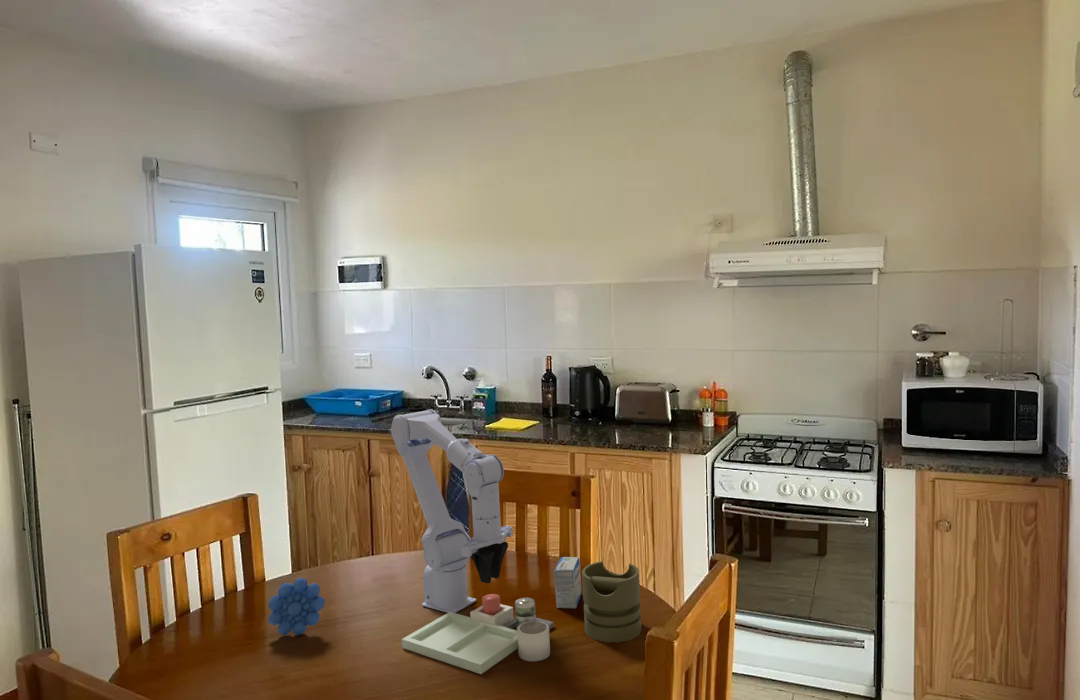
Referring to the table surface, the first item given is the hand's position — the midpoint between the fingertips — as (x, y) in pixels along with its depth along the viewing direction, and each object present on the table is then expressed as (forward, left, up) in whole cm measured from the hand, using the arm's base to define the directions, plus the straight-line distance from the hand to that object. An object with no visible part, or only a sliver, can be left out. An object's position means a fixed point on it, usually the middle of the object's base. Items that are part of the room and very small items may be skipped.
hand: (489, 579), depth 152 cm
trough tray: (+1, -10, -9) cm, 14 cm away
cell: (+8, +1, -9) cm, 12 cm away
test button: (0, 0, -8) cm, 8 cm away
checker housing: (0, 0, -9) cm, 9 cm away
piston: (+23, +10, -10) cm, 27 cm away
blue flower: (-33, -23, -10) cm, 41 cm away
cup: (+15, -6, -9) cm, 19 cm away
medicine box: (+8, +17, -10) cm, 21 cm away
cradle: (+8, +1, -9) cm, 12 cm away
